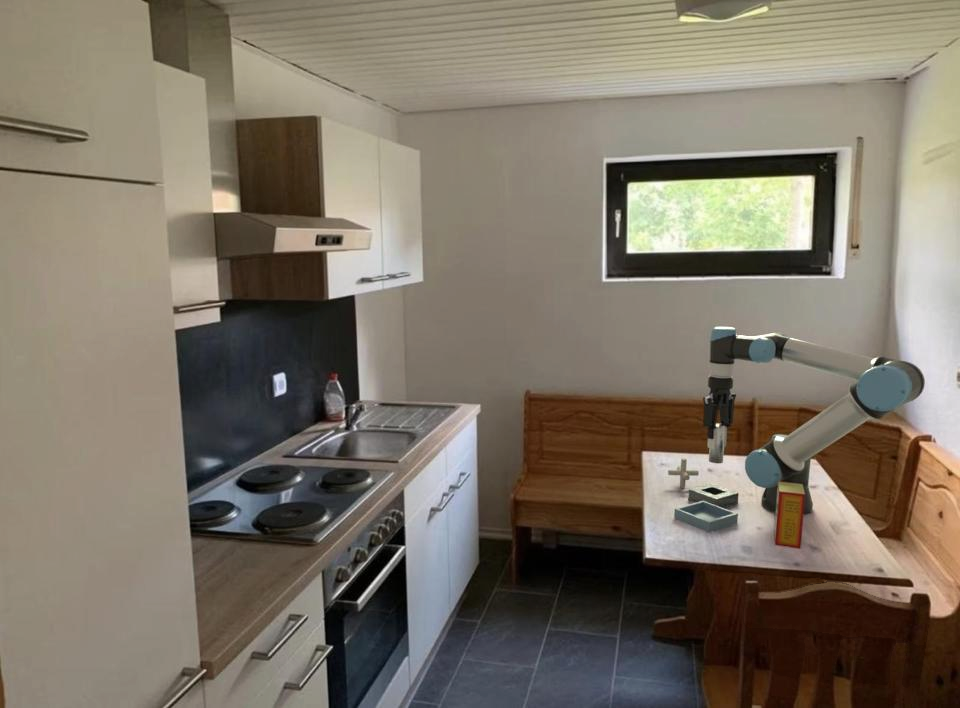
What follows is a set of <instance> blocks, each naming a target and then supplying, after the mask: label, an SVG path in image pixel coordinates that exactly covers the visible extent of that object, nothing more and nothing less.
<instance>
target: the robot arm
mask: <svg viewBox="0 0 960 708" xmlns="http://www.w3.org/2000/svg"><path fill="white" fill-rule="evenodd" d="M737 333H738V332H737V329H736V328H735V327H730V326H716V327H713V328H712V329H711V333H710V340H709V342H710V347H709V366H708V368H709V369H708V374H709V376H708V378H707V387H708V388H709V389H710V390H709V393H708V396H703V397H702V401H703V419H702V426H703V427H704V428H705V429H706V428H707V446H706V447H707V448H711V449H716V437H717V429H715V426H716V424H717V421H718V416H719V419H720V421H719V422H720V424H723V425H725V438H724V448H726V447H727V436H728V428H731V427H732V424H733V423H734V414H735V412H734V410H735V401H736V398H737V394H736V393H734V392H733V393H732V392H731V390H732V389H733V387H734V377H733V376H734V375H735V360H740V361H741V360H742V361H747V362H753V363H758V364H759V363H762V364H763V363H764V364H768V363H770V362H771V361H772V360H774V359H776V360H778V361H783V362H787V363H790V364H795V365H797V366H798V365H799V366H801V367H804V368H809V369H813V370H816V371H820V372H823V373H827V374H830V375H834V376H837V377H843V378H846V379H848V380H853V381H854V382H853V383H851V384H850V385H849V387H848V393H847V394H846V395H844V396H843V397H842V398H840V399H838V400H837V401H836V402H834V403H833V404H831V405H830V406H828V407H827V408H826V409H823V411H821V412H820V413H818V414H817V415H815V416H813V418H811V419H810V420H808V421H806V422H804V424H802V425H800V426H799V427H798V428H796V429H795V430H794V431H792V432H791V433H789V434H788V435H787V434H774V435H772V437H771V440H770V441H769V442H767V443H766V444H765V445H763V446H762V447H759V448H757V449H754V450H752V451H751V452H750V453H749V454H747V456H746V458H745V459H744V460H745V461H744V470H745V474H746V475H747V477H748V479H749V481H751V482H752V483H753V484H754V485H755V486H757V487H760V488H762V489H764V491H763V492H762V496H761V501H760V502H761V506H763V508H765V509H767V510H769V511H771V512H775V513H776V500H777V487H778V481H781V482H790V483H798V484H803V488H804V492H805V501H804V513H803V516H805V515H808V514H811V513H812V512H813V506H814V504H813V503H814V501H813V499H812V496H811V491H810V486H809V481H810V470H811V461H812V459H811V458H812V457H813V456H815V455H816V454H818V453H820V452H821V451H823V450H825V449H826V448H827V447H829V446H831V445H832V444H833V443H835V442H837V441H838V440H839V439H841V438H843V437H844V436H846V435H847V434H849V433H850V432H852V431H853V430H855V429H857V428H858V427H859V426H861V425H863V424H864V423H865V422H868V421H869V420H870V419H871V420H876V421H878V420H881V419H883V418H885V417H886V416H887V415H889V414H890V413H892V412H894V411H895V410H897V409H898V408H899V407H902V406H903V405H905V404H907V403H910V402H913V401H914V400H916V399H917V398H919V397H920V396H921V394H922V393H923V391H924V389H925V384H926V380H925V376H924V374H923V372H922V370H921V369H920V368H919V367H918V366H916V365H915V364H913V363H912V362H910V361H905V360H901V359H895V358H889V357H886V356H881V355H880V356H877V357H875V358H874V357H871V356H866V355H864V354H862V355H861V354H858V353H854V352H850V351H846V350H841V349H838V348H834V347H829V346H825V345H821V344H817V343H815V342H809V341H806V340H805V341H804V340H801V339H797V338H793V337H789V336H788V335H786V334H784V333H782V332H772V333H771V332H770V333H767V334H761V335H760V334H759V335H755V336H748V335H747V336H746V335H739V334H737Z"/></svg>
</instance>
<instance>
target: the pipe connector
mask: <svg viewBox="0 0 960 708" xmlns="http://www.w3.org/2000/svg"><path fill="white" fill-rule="evenodd" d="M680 459H681V460H680V465H678V466H677V468H676V469H668V470H667V471H668V472H667V475H668V476H680V477H679V488H682V489H685V488H686V483H687V481H689V480H690V479H691V478H690V476H696V477H697V476H699V474H700V473H699V472H700V471H699V470H695V469H694V470H690V469H687V463H688V461H687V460H688V459H687V458H685V457H682V458H680Z"/></svg>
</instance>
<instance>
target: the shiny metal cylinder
mask: <svg viewBox="0 0 960 708" xmlns="http://www.w3.org/2000/svg"><path fill="white" fill-rule="evenodd" d="M715 429H717V437H716V449H711V448H709V452H708V462H709V463H712V464H722V463H724V452H725V447H724V438H725V425H723V424H721V423H716V426H715Z"/></svg>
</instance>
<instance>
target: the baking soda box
mask: <svg viewBox="0 0 960 708" xmlns="http://www.w3.org/2000/svg"><path fill="white" fill-rule="evenodd" d="M804 501H805V492H804V488H803V484H798V483H790V482H781V481H778V487H777V500H776V512H775V514H774V515H775V516H774V526H773V527H774V529H773V539H774V546H779V547H785V548H786V547H787V548H791V549H798V550H799V549H801V548H802V546H801V545H802V533H803V522H804V515H803V513H804Z"/></svg>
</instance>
